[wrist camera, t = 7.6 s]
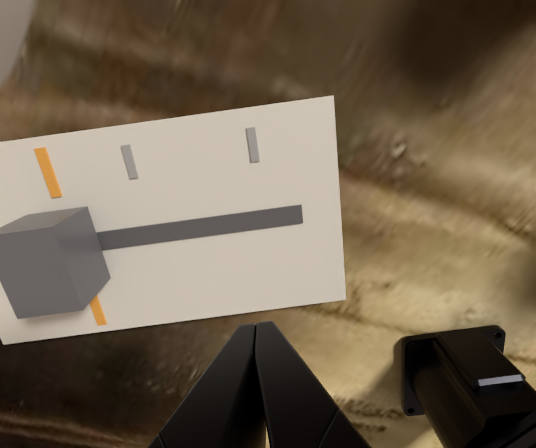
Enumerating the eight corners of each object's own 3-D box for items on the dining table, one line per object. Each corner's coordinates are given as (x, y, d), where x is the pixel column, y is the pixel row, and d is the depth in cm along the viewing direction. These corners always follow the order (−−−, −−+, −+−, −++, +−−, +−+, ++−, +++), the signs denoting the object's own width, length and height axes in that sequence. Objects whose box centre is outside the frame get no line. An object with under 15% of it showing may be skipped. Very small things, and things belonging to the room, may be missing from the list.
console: (340, 286, 21) (346, 300, 19) (20, 328, 21) (2, 345, 19) (327, 96, 17) (334, 95, 15) (-61, 150, 17) (-91, 154, 16)
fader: (110, 277, 18) (83, 310, 15) (55, 285, 18) (17, 319, 15) (87, 206, 16) (52, 227, 14) (27, 214, 16) (-21, 236, 14)
